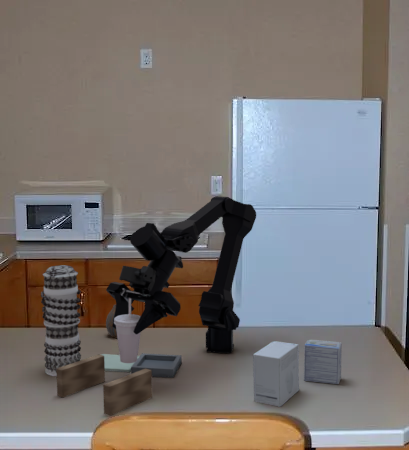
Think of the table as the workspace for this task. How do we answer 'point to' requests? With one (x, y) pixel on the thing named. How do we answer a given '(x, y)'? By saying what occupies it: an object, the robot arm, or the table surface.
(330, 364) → the medicine box
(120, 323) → the smoothie
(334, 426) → the table surface
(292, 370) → the skincare box
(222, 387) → the table surface
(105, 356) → the mat
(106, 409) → the lane
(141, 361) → the tray
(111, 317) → the vase
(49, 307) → the decorative candle
